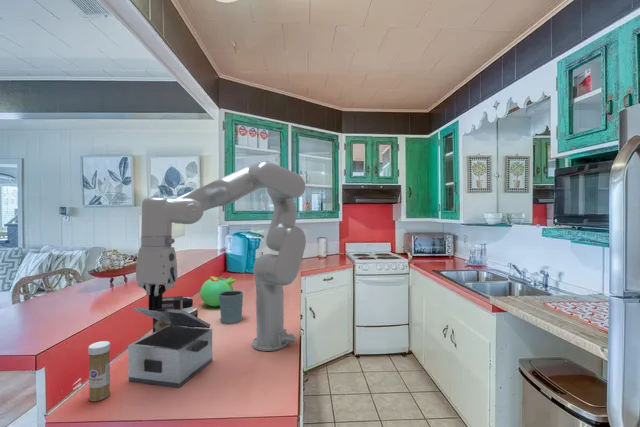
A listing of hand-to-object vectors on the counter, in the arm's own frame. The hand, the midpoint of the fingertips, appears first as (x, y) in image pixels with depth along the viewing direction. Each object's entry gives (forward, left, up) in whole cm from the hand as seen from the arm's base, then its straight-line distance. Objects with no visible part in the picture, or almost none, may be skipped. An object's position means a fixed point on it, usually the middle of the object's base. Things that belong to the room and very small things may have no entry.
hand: (155, 309), depth 89 cm
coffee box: (+15, -24, -20) cm, 34 cm away
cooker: (0, -7, -20) cm, 21 cm away
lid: (0, -8, -6) cm, 9 cm away
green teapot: (+23, -71, -20) cm, 77 cm away
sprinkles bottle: (+9, +9, -20) cm, 24 cm away
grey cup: (+5, -51, -20) cm, 55 cm away
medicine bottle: (+19, -39, -20) cm, 48 cm away
